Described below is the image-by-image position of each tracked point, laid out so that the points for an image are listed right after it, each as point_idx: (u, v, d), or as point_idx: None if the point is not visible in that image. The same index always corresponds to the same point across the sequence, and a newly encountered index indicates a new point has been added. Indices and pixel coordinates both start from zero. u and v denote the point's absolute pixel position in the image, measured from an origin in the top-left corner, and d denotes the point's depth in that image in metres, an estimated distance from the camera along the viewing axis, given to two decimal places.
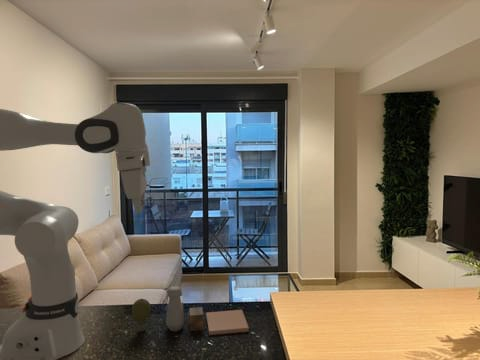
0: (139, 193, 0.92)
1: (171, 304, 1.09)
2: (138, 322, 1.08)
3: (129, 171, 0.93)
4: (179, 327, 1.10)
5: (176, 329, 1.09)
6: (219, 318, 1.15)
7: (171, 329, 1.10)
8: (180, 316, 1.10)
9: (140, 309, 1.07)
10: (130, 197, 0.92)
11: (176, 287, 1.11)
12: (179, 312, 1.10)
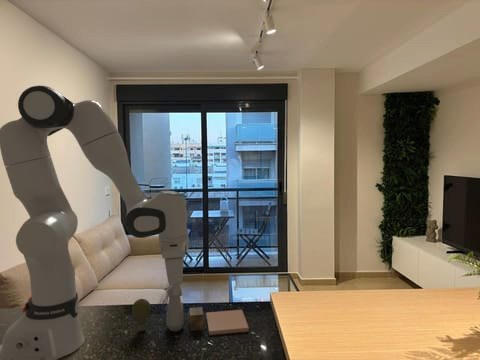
0: (180, 281, 1.00)
1: (171, 304, 1.09)
2: (138, 322, 1.08)
3: (173, 260, 1.01)
4: (179, 327, 1.10)
5: (176, 329, 1.09)
6: (219, 318, 1.15)
7: (171, 329, 1.10)
8: (180, 316, 1.10)
9: (140, 309, 1.07)
10: (172, 284, 1.00)
11: None
12: (179, 312, 1.10)
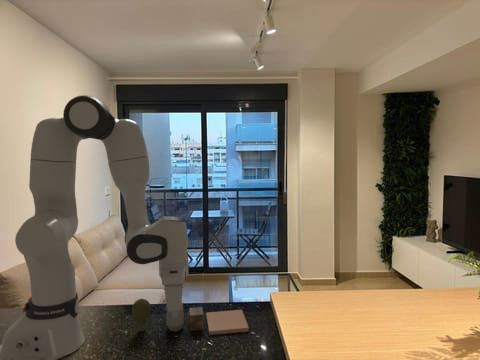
0: (179, 308, 1.01)
1: None
2: (138, 322, 1.08)
3: (172, 287, 1.01)
4: (179, 327, 1.10)
5: (176, 329, 1.09)
6: (219, 318, 1.15)
7: (171, 329, 1.10)
8: (180, 316, 1.10)
9: (140, 309, 1.07)
10: (171, 311, 1.01)
11: None
12: (179, 312, 1.10)
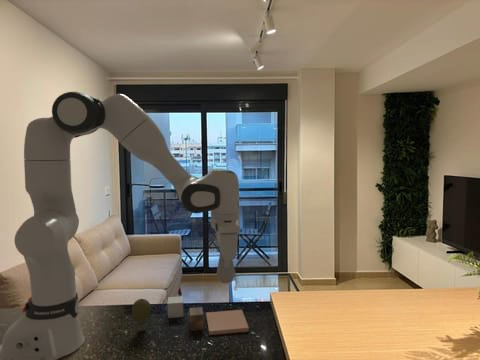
0: (235, 256, 1.02)
1: None
2: (138, 322, 1.08)
3: (228, 235, 1.03)
4: (230, 279, 1.11)
5: (228, 281, 1.11)
6: (219, 318, 1.15)
7: (223, 281, 1.11)
8: (232, 268, 1.11)
9: (140, 309, 1.07)
10: (227, 258, 1.02)
11: None
12: (231, 264, 1.11)
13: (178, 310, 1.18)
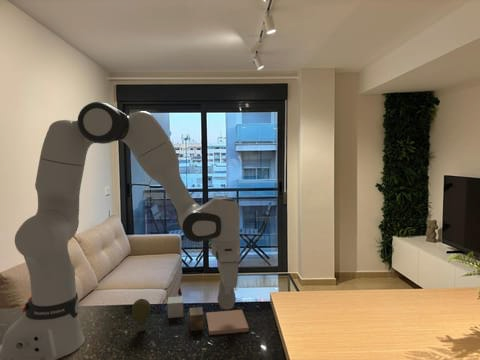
0: (236, 284, 1.03)
1: None
2: (138, 322, 1.08)
3: (228, 264, 1.03)
4: (231, 305, 1.12)
5: (228, 307, 1.12)
6: (219, 318, 1.15)
7: (223, 307, 1.12)
8: (232, 294, 1.12)
9: (140, 309, 1.07)
10: (227, 287, 1.03)
11: None
12: (231, 291, 1.12)
13: (178, 310, 1.18)
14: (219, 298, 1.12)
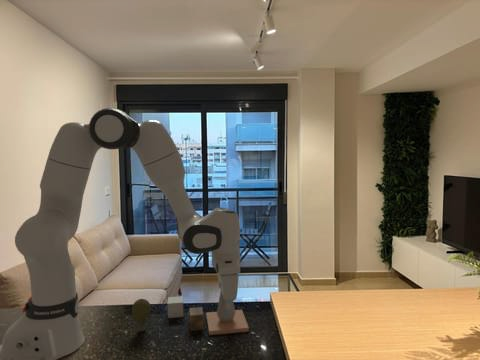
0: (235, 297, 1.04)
1: (223, 297, 1.11)
2: (138, 322, 1.08)
3: (228, 276, 1.04)
4: (230, 319, 1.12)
5: (228, 321, 1.12)
6: None
7: (223, 321, 1.12)
8: (232, 308, 1.12)
9: (140, 309, 1.07)
10: (227, 300, 1.03)
11: None
12: (231, 305, 1.12)
13: (178, 310, 1.18)
14: (218, 312, 1.12)
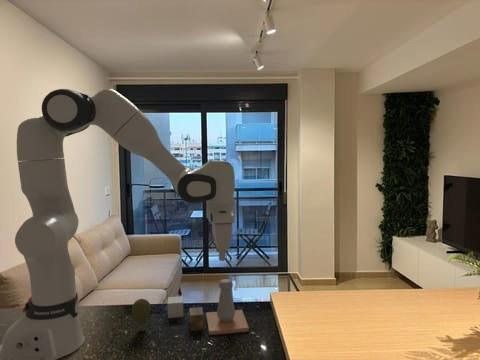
0: (229, 246, 1.03)
1: (223, 296, 1.12)
2: (138, 322, 1.08)
3: (222, 225, 1.03)
4: (230, 319, 1.12)
5: (228, 321, 1.12)
6: None
7: (223, 321, 1.12)
8: (231, 308, 1.12)
9: (140, 309, 1.07)
10: (221, 248, 1.03)
11: (227, 280, 1.13)
12: (231, 304, 1.12)
13: (178, 310, 1.18)
14: (218, 312, 1.12)
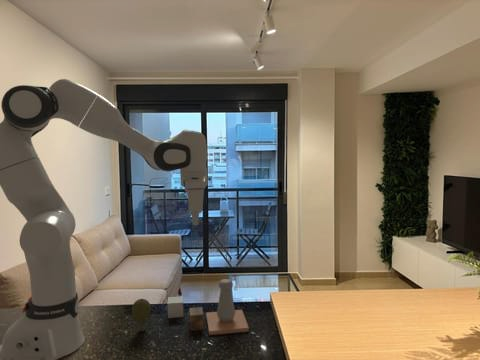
0: (201, 209, 1.09)
1: (223, 296, 1.12)
2: (138, 322, 1.08)
3: (194, 190, 1.10)
4: (230, 319, 1.12)
5: (228, 321, 1.12)
6: None
7: (223, 321, 1.12)
8: (231, 308, 1.12)
9: (140, 309, 1.07)
10: (193, 212, 1.09)
11: (227, 280, 1.13)
12: (231, 304, 1.12)
13: (178, 310, 1.18)
14: (218, 312, 1.12)
